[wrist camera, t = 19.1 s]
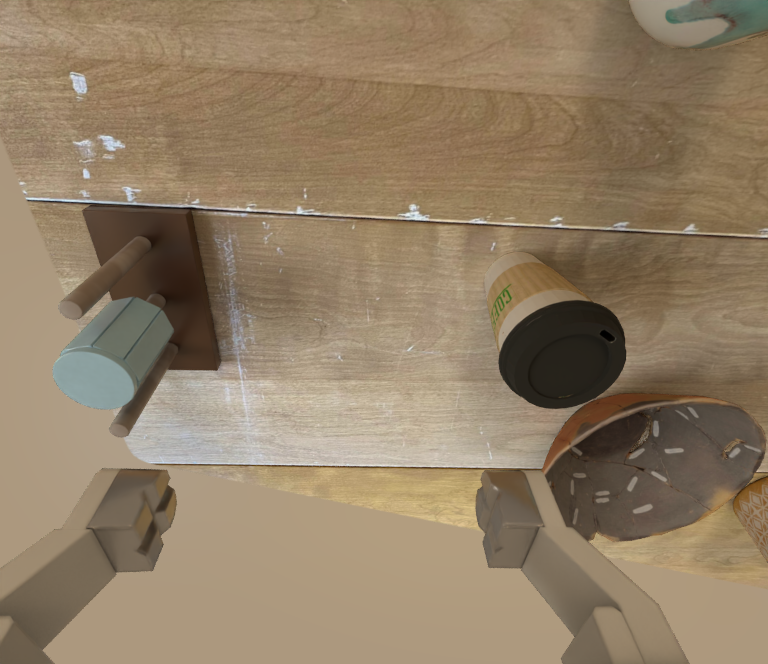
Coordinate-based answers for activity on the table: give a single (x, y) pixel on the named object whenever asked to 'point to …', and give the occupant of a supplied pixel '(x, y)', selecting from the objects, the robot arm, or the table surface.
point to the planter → (754, 512)
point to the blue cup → (113, 354)
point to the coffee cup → (550, 334)
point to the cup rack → (150, 287)
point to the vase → (701, 22)
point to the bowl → (650, 463)
